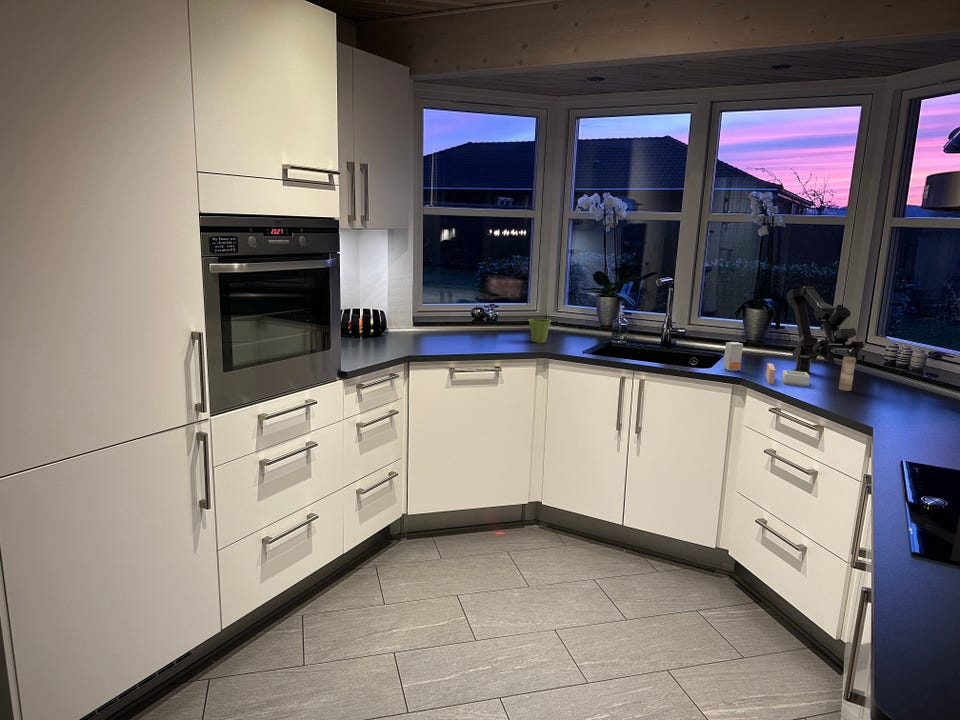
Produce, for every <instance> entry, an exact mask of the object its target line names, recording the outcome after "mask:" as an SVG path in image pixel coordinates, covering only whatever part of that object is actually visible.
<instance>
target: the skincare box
mask: <svg viewBox="0 0 960 720" xmlns="http://www.w3.org/2000/svg"><path fill="white" fill-rule="evenodd" d="M743 348H744V343H740V342H738V341H737V342H736V341H735V342H734V341H730V342H727V341H726V342H725V348H724V356H723V363H722V364H723V365H722V369H723V370H725V369H727V370H726V371H728V370H729V371H738V370H739V371H740V370H741V363H742V357H743V356H742V355H743Z"/></svg>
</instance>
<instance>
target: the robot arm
mask: <svg viewBox="0 0 960 720" xmlns="http://www.w3.org/2000/svg"><path fill="white" fill-rule="evenodd" d="M786 299H787V302H788V305H789V306H790V307H791V308H792V309H793V312H794V316H795V321H796V328H797V331H798V337H799V338H798V340H797V343H796V347H795V349H794V350H792V352H791V353H792V355H791V356H792V357H793V358H795V359H796V362H795V363H796V364H795V368H793V371H797V372H807V373H808V374H809V375H810V374H811V375H812V371H811V370H810V369H811V365H812V360H817V358H818V356H819V355H820V356H821V357H822V358H824V359H826V360H827V361H828V363H830V364H831V365H835V364H836V361H835V359H834V356H833V354H832V353H833V352H832V350H845V351H847V353H848V354H847V356H848V357H854V358H856V362H855V366H857V365H858V358H859V357H858V355H859V354H860V352H861V351H862V350H863V349H864V348H865V343H864V341H863V340H853V341H851V342H850V344H849V343H848V342H849V339H852V338H853V337H856V336H857V331H856V328H854V327H849V328H840V326H843V325H844V323H846V321H847V320H848V319H849V318H850V316H851V314H852V313H851V311H850V310H849V308H847V307H845V306H844V305H843V304H837V305H836V306H835V307H834V306H833V305H832V304H828V303H826V302H825V301H824V299H823V298H822V297H821V296H820V295H819V293H818V292H817V291H816V288H815V287H813V286H802V287H799V288H794V289H793V288H792V289H790V290H789V291H788V292H787V293H786ZM807 304H810V306H811V307H812V308H813V310H814V311H813V315H814V317H815V318H816V320H817V321H823V322H822V323H821V325H820V327H819V330H822V331H823V332H824V335H825V337H824V339H818V337H814V336H813V335H812V332H811V326H810V321H809V316H808V311H807Z"/></svg>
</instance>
